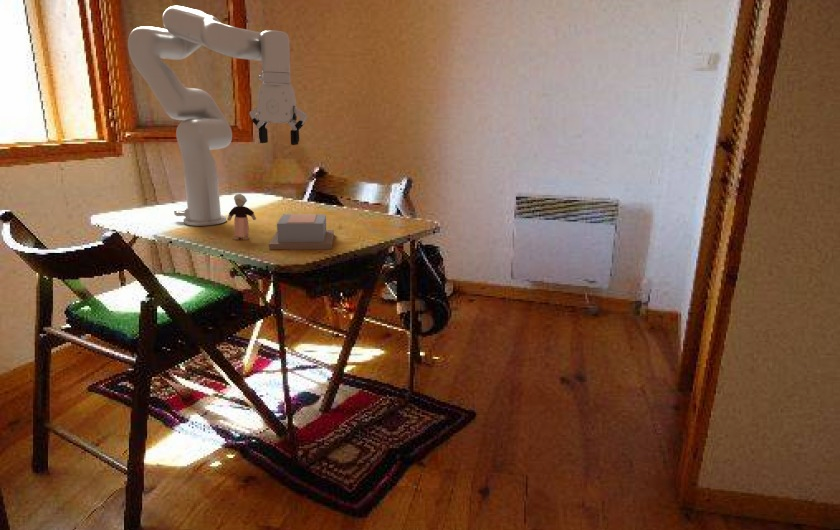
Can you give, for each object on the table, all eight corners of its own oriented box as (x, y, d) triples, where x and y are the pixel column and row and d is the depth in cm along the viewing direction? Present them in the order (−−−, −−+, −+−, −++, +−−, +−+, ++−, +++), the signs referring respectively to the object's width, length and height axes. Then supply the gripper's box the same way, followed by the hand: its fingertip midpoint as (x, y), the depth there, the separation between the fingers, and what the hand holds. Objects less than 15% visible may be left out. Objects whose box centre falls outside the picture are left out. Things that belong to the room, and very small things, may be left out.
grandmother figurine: (228, 241, 149) (224, 195, 145) (229, 237, 152) (225, 193, 149) (257, 239, 151) (254, 194, 147) (257, 236, 154) (254, 192, 151)
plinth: (269, 249, 141) (267, 224, 139) (278, 235, 156) (276, 212, 154) (331, 249, 143) (330, 224, 141) (333, 234, 158) (333, 212, 156)
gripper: (240, 78, 146) (244, 143, 151) (298, 80, 142) (300, 146, 147) (255, 79, 153) (259, 141, 158) (311, 81, 149) (313, 144, 154)
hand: (279, 143), depth 153 cm, fingers open, 9 cm apart
